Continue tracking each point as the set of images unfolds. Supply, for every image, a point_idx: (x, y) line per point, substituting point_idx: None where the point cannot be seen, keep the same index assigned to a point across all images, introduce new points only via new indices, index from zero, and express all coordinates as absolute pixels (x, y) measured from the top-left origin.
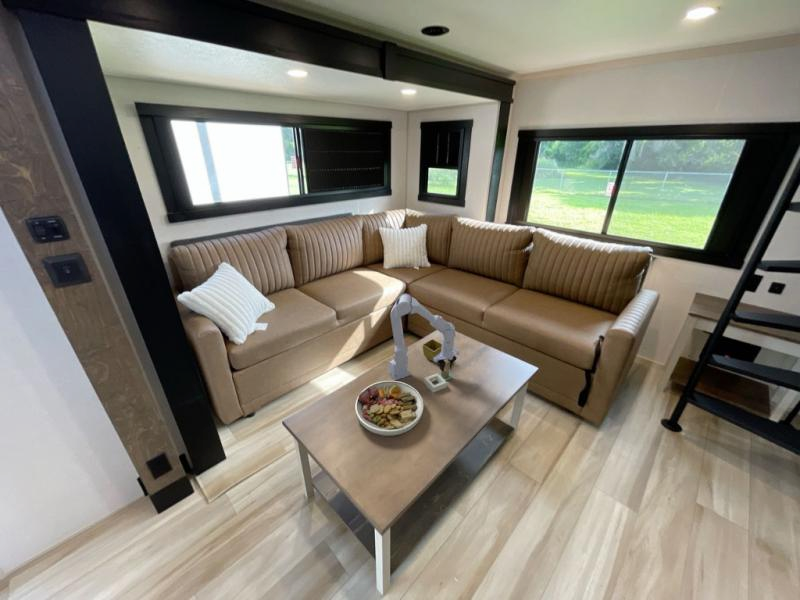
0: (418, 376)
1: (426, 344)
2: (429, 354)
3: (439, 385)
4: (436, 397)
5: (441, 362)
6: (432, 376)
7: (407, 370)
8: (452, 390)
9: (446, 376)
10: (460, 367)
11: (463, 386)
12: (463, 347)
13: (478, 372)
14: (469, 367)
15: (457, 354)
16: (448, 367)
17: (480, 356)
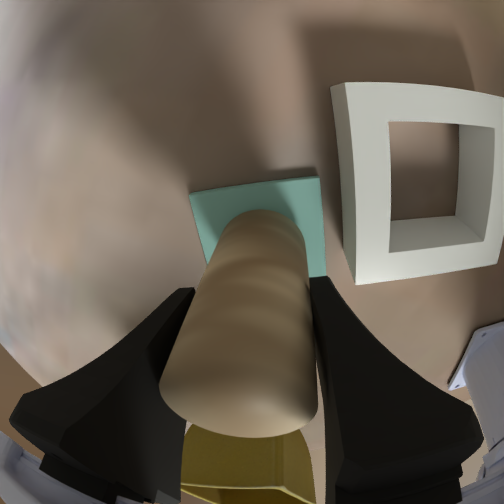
0: (452, 307)
1: (279, 496)
2: (295, 450)
3: (453, 88)
4: (470, 35)
5: (460, 456)
6: (436, 257)
7: (485, 360)
8: (286, 25)
9: (266, 215)
10: (93, 288)
11: (142, 53)
12: None
13: (5, 202)
14: (42, 264)
15: (12, 445)
16: (228, 302)
17: (4, 311)
